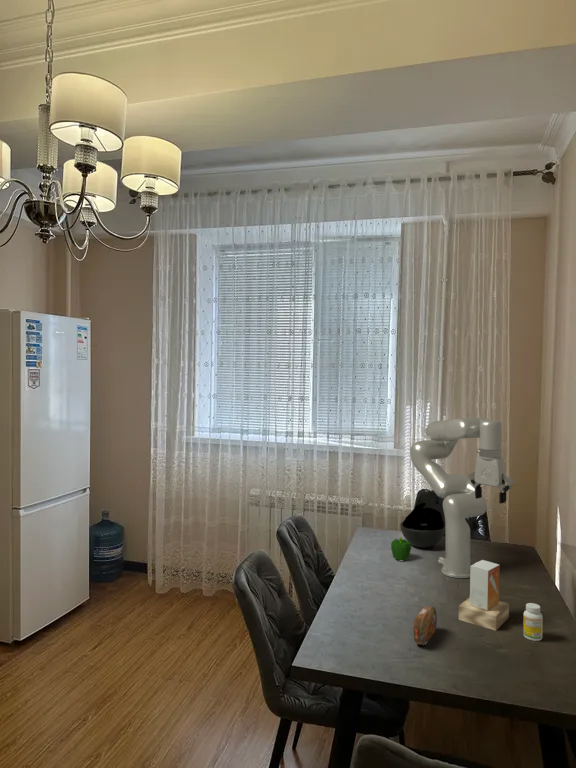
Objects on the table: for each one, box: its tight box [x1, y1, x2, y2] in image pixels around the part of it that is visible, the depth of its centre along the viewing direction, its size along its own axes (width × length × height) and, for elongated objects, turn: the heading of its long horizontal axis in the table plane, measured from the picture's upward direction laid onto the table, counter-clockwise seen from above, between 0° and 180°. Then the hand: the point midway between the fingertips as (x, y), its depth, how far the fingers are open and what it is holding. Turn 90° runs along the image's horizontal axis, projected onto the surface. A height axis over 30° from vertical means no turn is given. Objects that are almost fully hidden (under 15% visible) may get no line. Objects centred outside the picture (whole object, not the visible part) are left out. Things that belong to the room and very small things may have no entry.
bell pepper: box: [390, 536, 412, 561], centre depth 238 cm, size 8×8×10 cm
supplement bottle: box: [522, 602, 544, 642], centre depth 168 cm, size 5×5×10 cm
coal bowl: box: [399, 502, 445, 549], centre depth 255 cm, size 20×20×19 cm
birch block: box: [458, 596, 510, 631], centre depth 181 cm, size 12×12×5 cm
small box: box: [469, 559, 501, 610], centre depth 181 cm, size 8×6×13 cm
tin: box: [412, 605, 438, 646], centre depth 168 cm, size 15×3×8 cm, turn 148°
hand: (490, 500), depth 203 cm, fingers open, 9 cm apart
